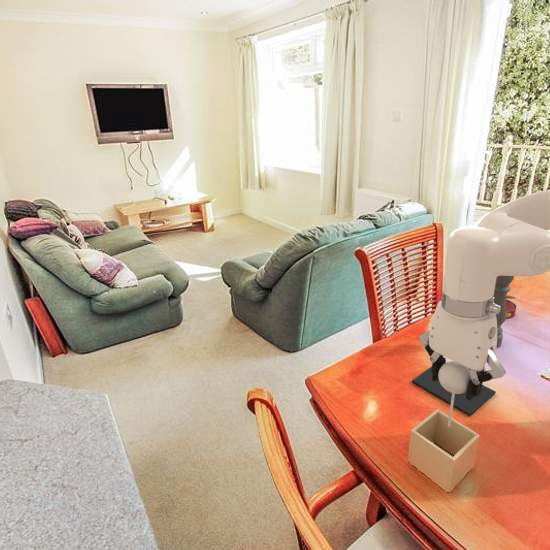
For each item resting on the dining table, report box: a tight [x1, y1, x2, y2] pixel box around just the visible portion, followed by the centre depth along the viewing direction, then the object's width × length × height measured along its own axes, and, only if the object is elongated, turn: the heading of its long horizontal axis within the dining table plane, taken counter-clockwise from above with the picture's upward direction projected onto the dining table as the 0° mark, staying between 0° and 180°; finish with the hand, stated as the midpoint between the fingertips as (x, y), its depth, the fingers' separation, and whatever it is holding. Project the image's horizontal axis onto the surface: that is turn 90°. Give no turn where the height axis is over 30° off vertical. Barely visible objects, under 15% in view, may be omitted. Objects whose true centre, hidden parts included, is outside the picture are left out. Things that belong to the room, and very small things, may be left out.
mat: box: [411, 366, 497, 417], centre depth 98 cm, size 16×12×1 cm
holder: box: [407, 408, 481, 493], centre depth 76 cm, size 9×9×9 cm
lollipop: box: [438, 360, 471, 427], centre depth 70 cm, size 6×6×15 cm
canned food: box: [505, 294, 518, 320], centre depth 129 cm, size 11×10×10 cm
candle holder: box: [493, 276, 515, 349], centre depth 110 cm, size 6×6×25 cm
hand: (454, 386), depth 69 cm, fingers closed on lollipop, 6 cm apart
